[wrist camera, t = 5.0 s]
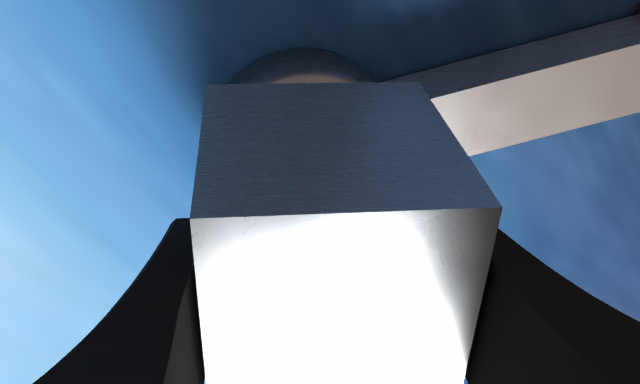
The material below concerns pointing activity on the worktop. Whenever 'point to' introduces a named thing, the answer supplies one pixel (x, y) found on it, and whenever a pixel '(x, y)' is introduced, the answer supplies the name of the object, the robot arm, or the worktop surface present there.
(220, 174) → the brushed white cube
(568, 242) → the worktop surface
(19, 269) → the worktop surface
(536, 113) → the ratchet
